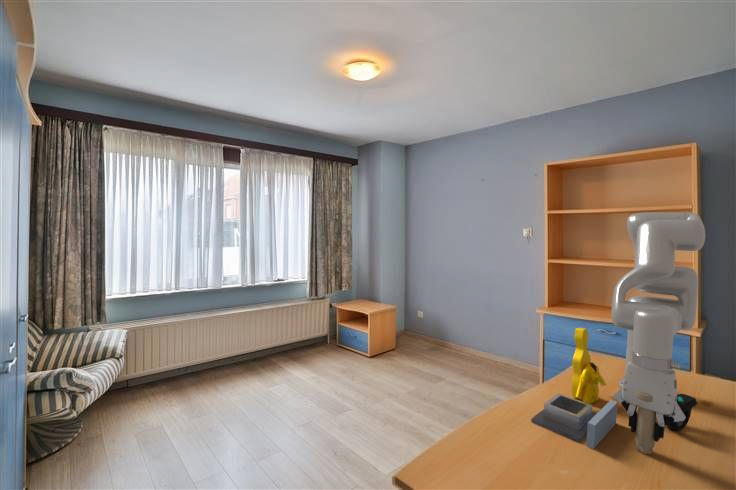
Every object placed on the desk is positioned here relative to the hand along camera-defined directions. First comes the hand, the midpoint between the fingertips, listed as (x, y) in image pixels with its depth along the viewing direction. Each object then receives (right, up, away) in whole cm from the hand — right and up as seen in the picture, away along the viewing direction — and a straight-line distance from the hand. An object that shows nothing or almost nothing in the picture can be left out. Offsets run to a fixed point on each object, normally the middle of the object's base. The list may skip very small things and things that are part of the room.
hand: (645, 434), depth 87 cm
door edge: (-6, -4, +7) cm, 10 cm away
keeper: (-11, -3, +14) cm, 18 cm away
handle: (0, -4, 0) cm, 4 cm away
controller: (+17, -4, +11) cm, 21 cm away
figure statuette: (+1, -3, +26) cm, 27 cm away
